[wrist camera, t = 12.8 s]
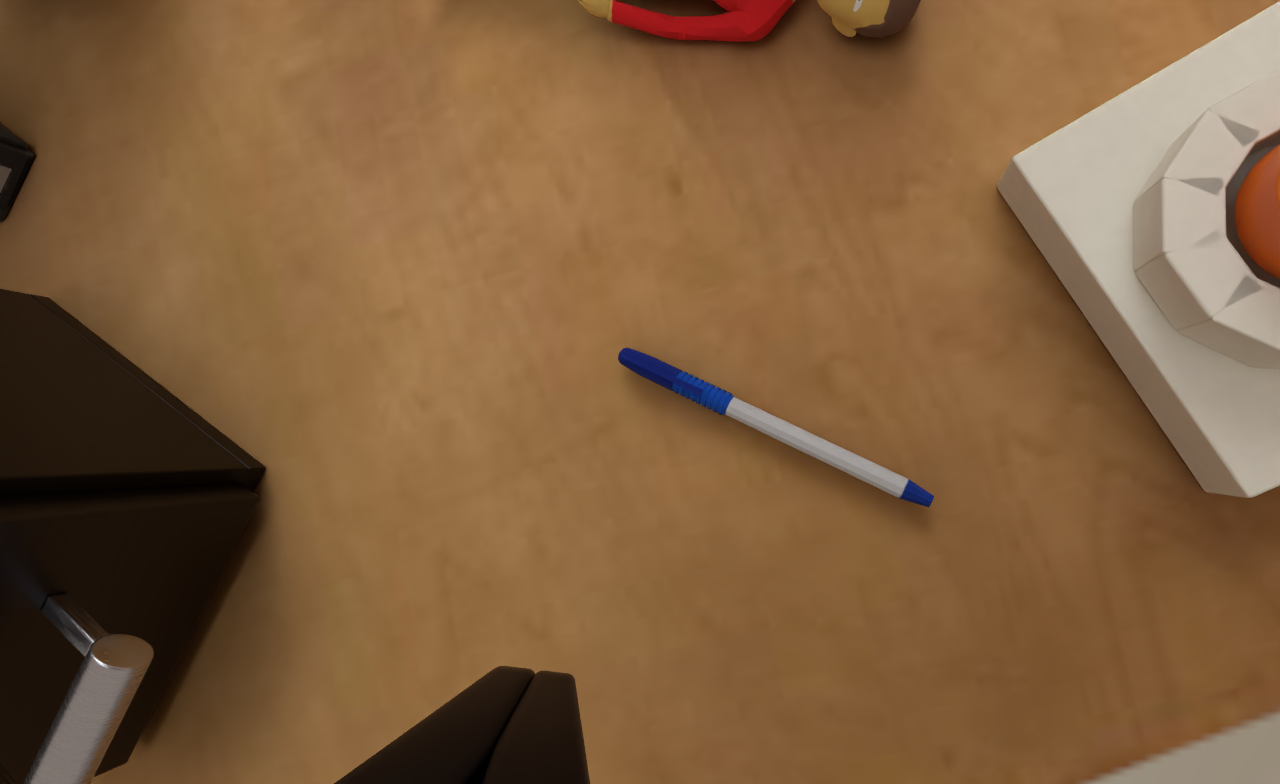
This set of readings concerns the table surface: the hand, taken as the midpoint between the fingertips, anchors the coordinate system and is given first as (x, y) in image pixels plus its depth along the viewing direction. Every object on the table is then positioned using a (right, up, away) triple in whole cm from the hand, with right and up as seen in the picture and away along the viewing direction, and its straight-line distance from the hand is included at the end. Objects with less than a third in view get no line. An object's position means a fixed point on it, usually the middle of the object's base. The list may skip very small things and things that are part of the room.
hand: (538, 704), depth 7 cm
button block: (+17, +7, +11) cm, 21 cm away
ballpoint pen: (+5, +2, +14) cm, 15 cm away
